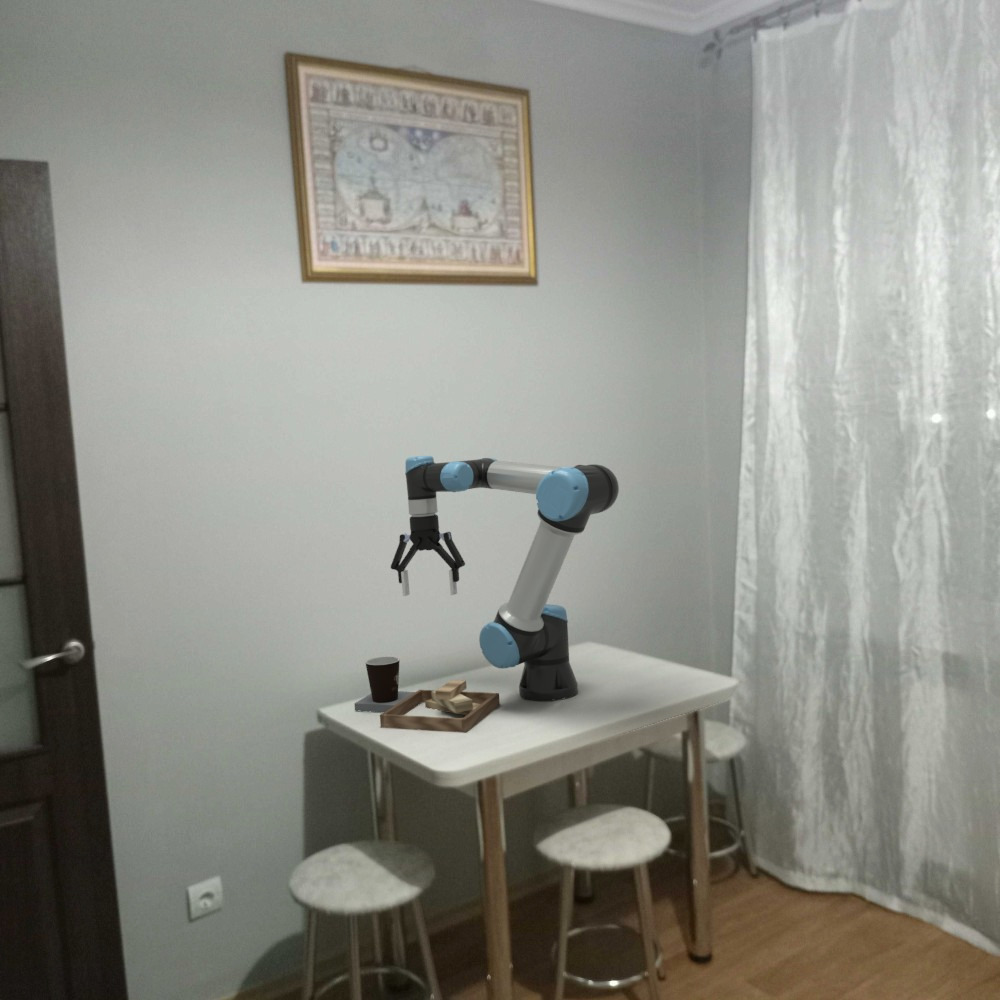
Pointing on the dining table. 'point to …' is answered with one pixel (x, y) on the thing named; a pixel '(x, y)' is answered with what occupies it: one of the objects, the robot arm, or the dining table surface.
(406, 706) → the wooden tray
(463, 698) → the offcut board pine
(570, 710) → the dining table surface
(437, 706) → the offcut board oak
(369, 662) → the coffee mug
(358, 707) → the plate
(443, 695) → the offcut board beech
